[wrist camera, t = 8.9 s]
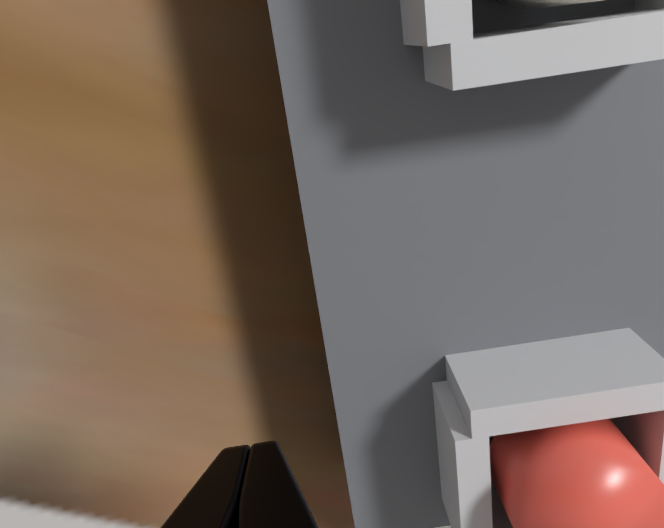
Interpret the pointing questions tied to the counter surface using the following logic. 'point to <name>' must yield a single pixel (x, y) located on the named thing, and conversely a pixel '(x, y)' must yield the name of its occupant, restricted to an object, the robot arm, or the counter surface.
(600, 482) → the red plunger
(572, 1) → the cream plunger
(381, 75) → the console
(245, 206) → the counter surface
